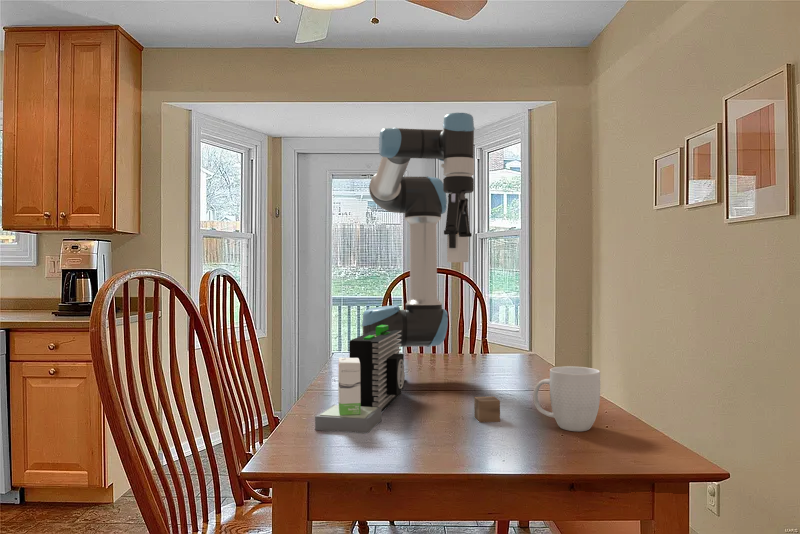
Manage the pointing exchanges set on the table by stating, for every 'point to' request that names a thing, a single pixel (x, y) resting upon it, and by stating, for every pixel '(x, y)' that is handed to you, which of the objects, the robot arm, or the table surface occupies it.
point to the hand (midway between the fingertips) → (458, 262)
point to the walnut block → (487, 409)
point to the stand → (348, 420)
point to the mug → (572, 396)
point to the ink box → (349, 386)
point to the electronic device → (379, 366)
